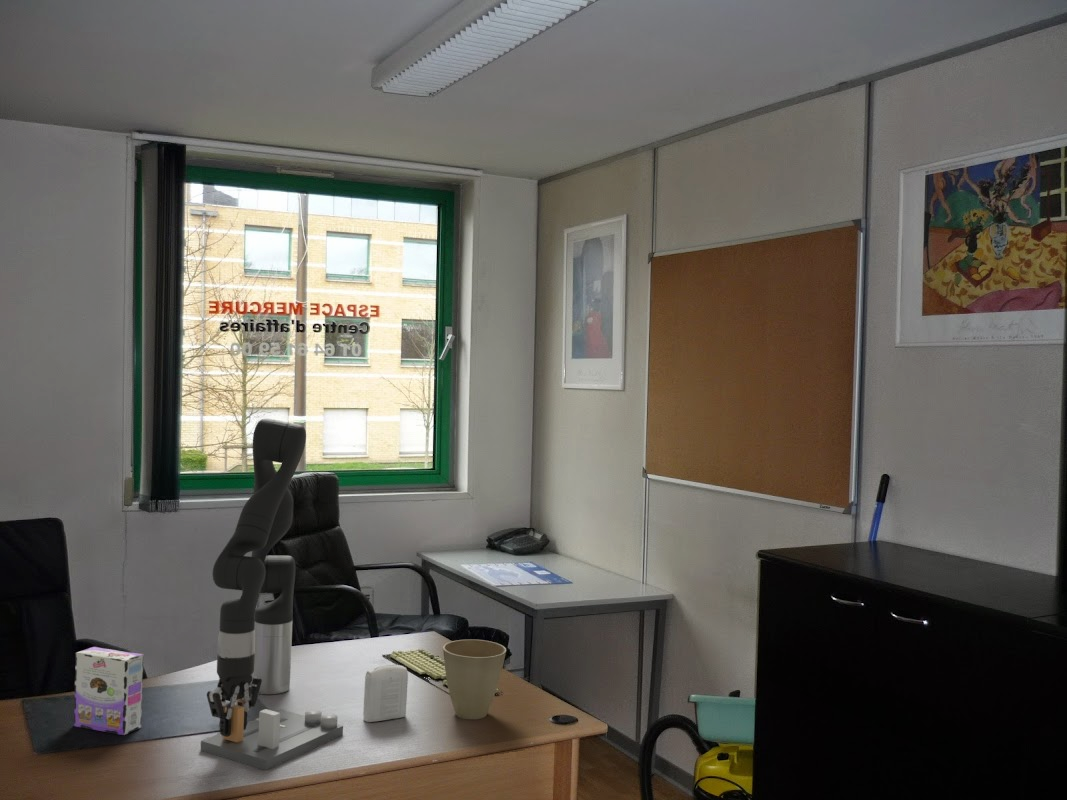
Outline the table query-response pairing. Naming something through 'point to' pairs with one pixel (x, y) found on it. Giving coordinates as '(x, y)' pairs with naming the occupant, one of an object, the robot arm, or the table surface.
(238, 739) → the fader cap
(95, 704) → the candy box
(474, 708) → the plant pot
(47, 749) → the table surface
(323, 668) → the table surface
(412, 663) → the keyboard
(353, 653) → the table surface
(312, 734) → the console
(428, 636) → the table surface
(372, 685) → the photo printer
